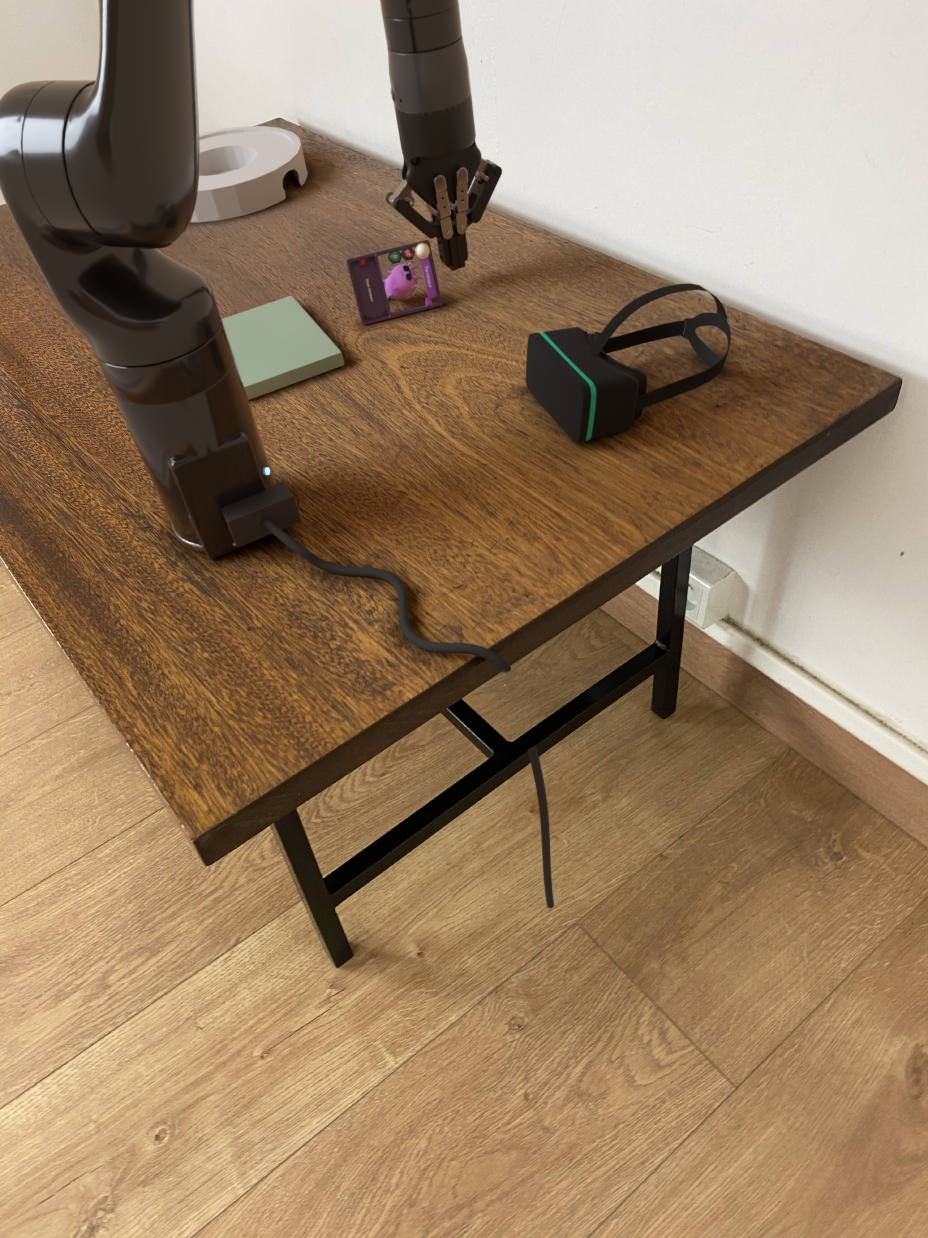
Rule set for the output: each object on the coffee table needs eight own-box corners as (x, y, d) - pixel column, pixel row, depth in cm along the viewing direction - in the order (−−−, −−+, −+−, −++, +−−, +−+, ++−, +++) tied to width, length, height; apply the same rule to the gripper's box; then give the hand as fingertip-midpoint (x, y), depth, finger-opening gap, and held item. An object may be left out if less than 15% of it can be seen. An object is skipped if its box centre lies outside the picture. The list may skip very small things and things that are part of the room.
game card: (347, 259, 93) (430, 239, 94) (341, 256, 98) (420, 237, 99) (363, 326, 96) (444, 305, 97) (357, 320, 101) (434, 300, 102)
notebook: (344, 364, 92) (341, 351, 91) (243, 402, 89) (238, 389, 88) (294, 307, 102) (291, 294, 100) (201, 339, 99) (197, 326, 98)
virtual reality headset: (524, 386, 85) (530, 282, 78) (679, 354, 89) (698, 253, 82) (578, 447, 78) (590, 339, 71) (744, 410, 82) (771, 304, 75)
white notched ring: (288, 142, 138) (281, 113, 135) (325, 194, 123) (318, 163, 120) (138, 179, 134) (128, 150, 132) (157, 237, 119) (146, 206, 116)
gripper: (385, 124, 83) (416, 299, 95) (510, 83, 86) (524, 259, 98) (354, 103, 87) (387, 273, 100) (474, 65, 90) (491, 235, 103)
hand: (455, 266), depth 99 cm, fingers closed
